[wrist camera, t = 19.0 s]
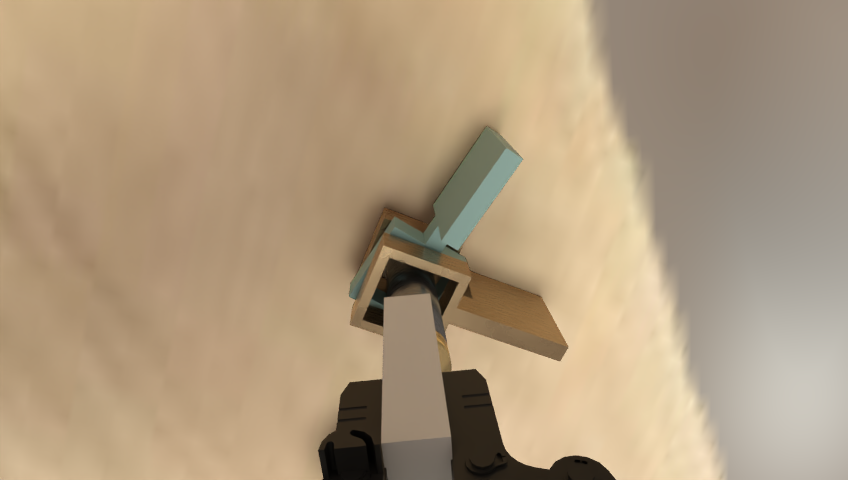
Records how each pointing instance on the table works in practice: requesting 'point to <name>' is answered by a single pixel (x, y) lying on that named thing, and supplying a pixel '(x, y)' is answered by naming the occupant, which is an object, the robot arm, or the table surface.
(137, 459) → the table surface
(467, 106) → the table surface
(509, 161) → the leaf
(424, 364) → the robot arm
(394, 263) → the pin
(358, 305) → the square hinge knuckle
